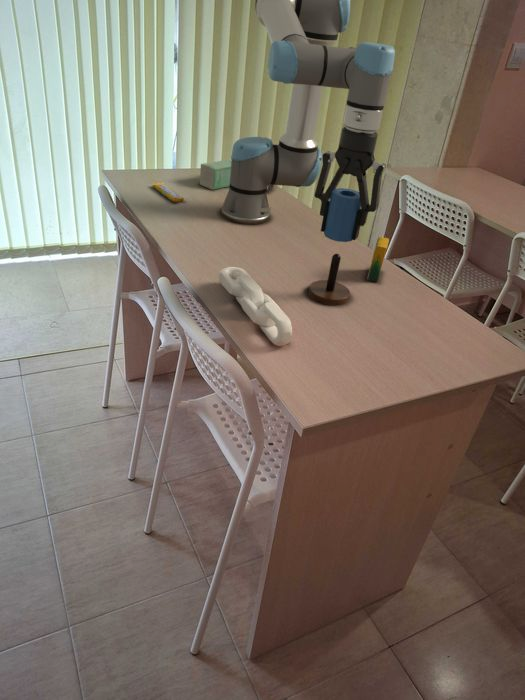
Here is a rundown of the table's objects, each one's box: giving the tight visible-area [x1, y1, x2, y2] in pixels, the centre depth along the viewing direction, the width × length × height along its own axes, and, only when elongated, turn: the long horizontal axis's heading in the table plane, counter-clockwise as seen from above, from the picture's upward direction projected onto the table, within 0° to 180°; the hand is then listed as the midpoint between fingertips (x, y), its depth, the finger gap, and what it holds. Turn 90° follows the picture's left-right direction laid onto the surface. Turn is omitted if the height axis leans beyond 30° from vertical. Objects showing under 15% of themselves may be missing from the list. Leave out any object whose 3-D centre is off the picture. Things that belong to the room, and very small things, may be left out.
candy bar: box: [151, 181, 184, 203], centre depth 178 cm, size 17×4×2 cm, turn 34°
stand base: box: [308, 279, 351, 306], centre depth 133 cm, size 10×10×2 cm
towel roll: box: [323, 187, 361, 243], centre depth 121 cm, size 7×7×10 cm
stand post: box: [326, 253, 342, 291], centre depth 129 cm, size 2×2×10 cm
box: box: [199, 159, 231, 191], centre depth 192 cm, size 7×14×8 cm, turn 137°
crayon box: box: [366, 229, 390, 283], centre depth 142 cm, size 7×3×12 cm, turn 164°
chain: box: [218, 266, 293, 347], centre depth 120 cm, size 30×6×6 cm, turn 26°
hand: (339, 233), depth 124 cm, fingers closed on towel roll, 7 cm apart
